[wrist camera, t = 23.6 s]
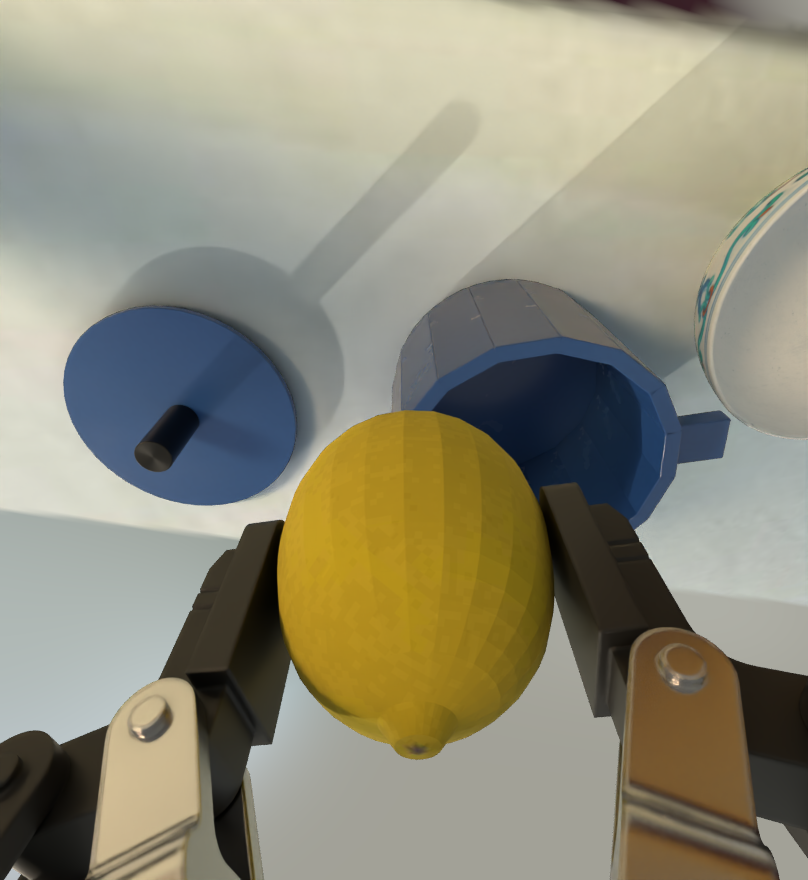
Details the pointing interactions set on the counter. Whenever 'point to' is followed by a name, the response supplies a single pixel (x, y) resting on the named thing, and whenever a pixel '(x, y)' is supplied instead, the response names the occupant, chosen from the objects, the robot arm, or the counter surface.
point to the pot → (553, 394)
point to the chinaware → (760, 315)
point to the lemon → (415, 580)
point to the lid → (180, 405)
